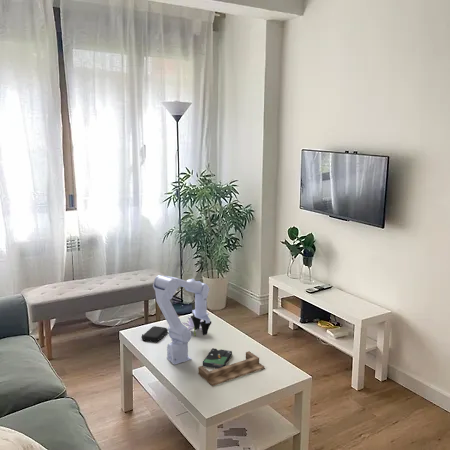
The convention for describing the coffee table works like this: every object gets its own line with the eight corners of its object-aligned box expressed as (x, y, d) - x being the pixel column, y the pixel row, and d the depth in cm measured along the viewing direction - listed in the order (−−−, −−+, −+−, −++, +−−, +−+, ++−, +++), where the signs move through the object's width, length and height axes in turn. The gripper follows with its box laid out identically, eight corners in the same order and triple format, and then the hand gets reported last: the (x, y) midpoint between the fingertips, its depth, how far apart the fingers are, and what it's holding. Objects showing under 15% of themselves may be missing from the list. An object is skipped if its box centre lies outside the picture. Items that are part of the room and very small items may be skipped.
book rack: (212, 386, 199) (212, 378, 198) (198, 374, 209) (198, 366, 208) (264, 368, 214) (264, 361, 213) (249, 358, 224) (249, 351, 223)
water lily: (188, 343, 254) (189, 327, 260) (213, 338, 250) (213, 322, 255) (175, 333, 244) (176, 317, 249) (201, 327, 239) (202, 311, 244)
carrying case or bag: (151, 329, 256) (138, 340, 242) (151, 324, 255) (138, 335, 241) (169, 332, 253) (157, 343, 239) (169, 326, 252) (157, 338, 238)
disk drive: (211, 353, 230) (202, 367, 216) (211, 347, 229) (202, 361, 215) (232, 356, 227) (223, 370, 213) (232, 350, 226) (223, 364, 212)
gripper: (215, 309, 226) (215, 335, 229) (200, 300, 238) (200, 325, 241) (202, 312, 222) (203, 338, 225) (188, 302, 234) (188, 328, 237)
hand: (200, 332), depth 232 cm, fingers open, 7 cm apart
